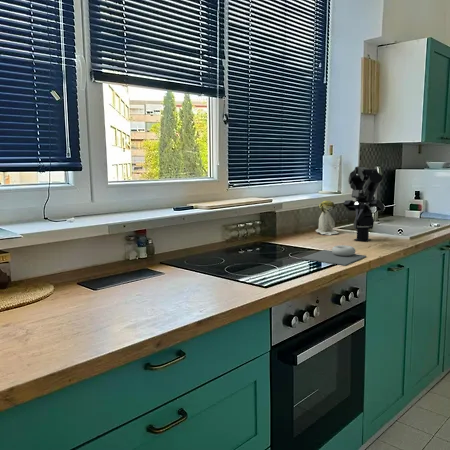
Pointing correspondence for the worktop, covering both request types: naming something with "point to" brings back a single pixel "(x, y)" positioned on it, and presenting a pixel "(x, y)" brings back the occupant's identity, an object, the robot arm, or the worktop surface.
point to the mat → (333, 258)
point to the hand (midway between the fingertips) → (357, 220)
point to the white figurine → (326, 218)
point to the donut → (343, 250)
